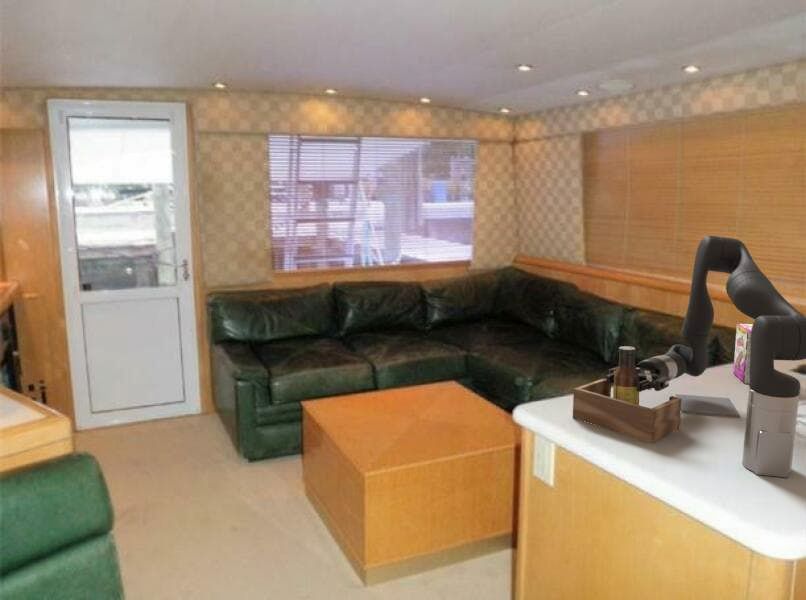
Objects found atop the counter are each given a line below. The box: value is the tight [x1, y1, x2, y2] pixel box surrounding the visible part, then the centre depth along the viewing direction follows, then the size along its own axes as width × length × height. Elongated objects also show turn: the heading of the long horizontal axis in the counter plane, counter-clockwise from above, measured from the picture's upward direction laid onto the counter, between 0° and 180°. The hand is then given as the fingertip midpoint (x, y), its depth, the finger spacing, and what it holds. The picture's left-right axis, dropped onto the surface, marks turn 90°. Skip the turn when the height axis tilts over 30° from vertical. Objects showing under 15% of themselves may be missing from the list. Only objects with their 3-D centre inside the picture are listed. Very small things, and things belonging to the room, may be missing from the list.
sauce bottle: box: [612, 345, 640, 405], centre depth 162 cm, size 7×6×20 cm
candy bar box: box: [732, 323, 753, 385], centre depth 198 cm, size 11×5×16 cm, turn 168°
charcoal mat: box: [674, 393, 741, 419], centre depth 176 cm, size 14×14×1 cm
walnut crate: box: [572, 377, 682, 444], centre depth 163 cm, size 13×22×8 cm, turn 40°
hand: (622, 383), depth 160 cm, fingers open, 8 cm apart
